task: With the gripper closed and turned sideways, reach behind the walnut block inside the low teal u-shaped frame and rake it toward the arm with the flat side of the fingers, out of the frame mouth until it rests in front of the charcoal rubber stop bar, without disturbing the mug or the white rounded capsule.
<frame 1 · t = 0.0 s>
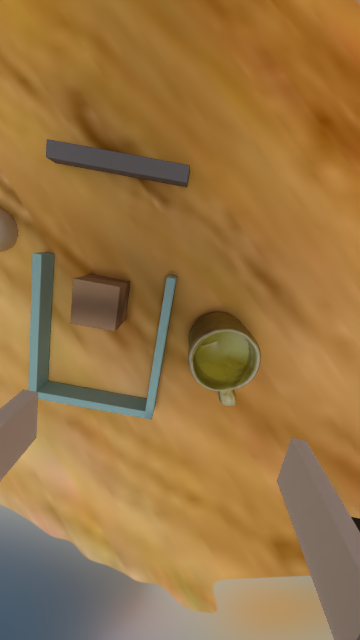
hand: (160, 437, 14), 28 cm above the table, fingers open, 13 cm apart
walnut block: (108, 297, 41), on the table
stop bar: (122, 166, 36), on the table
mug: (218, 348, 42), on the table
teal u-shaped frame: (104, 334, 42), on the table
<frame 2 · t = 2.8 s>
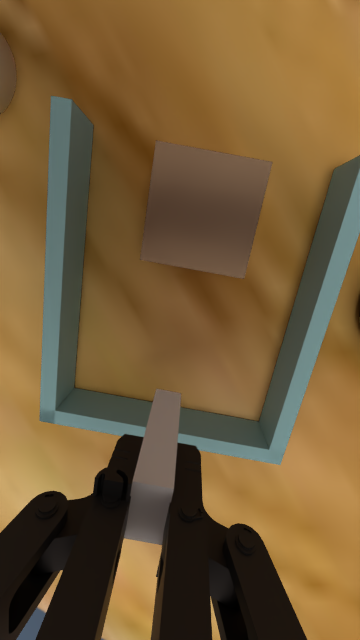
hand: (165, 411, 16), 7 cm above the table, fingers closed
walnut block: (200, 222, 20), on the table
teal u-shaped frame: (185, 300, 22), on the table
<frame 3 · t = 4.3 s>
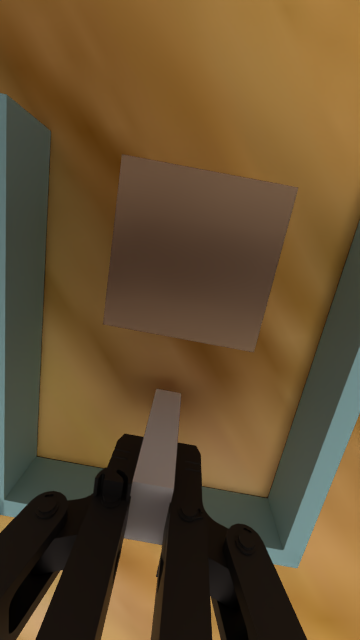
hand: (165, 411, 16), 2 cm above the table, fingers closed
walnut block: (192, 256, 16), on the table
teal u-shaped frame: (175, 353, 17), on the table
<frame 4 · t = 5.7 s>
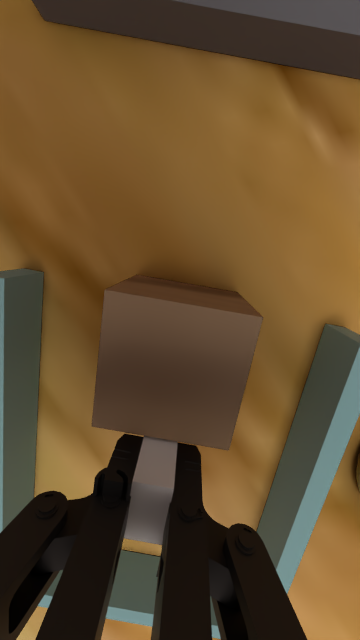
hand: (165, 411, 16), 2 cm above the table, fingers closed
walnut block: (178, 331, 17), on the table, touching gripper
stop bar: (234, 29, 13), on the table
teal u-shaped frame: (156, 450, 19), on the table
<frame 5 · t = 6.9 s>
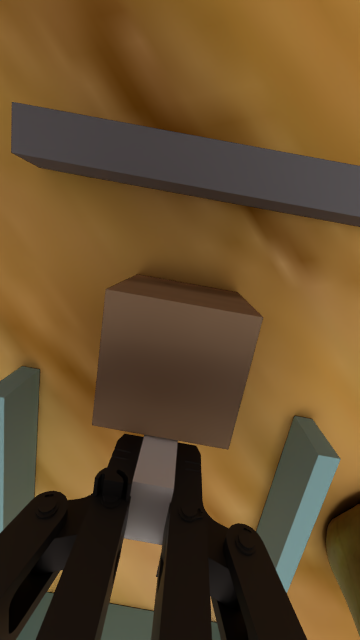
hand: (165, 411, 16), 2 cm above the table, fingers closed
walnut block: (178, 331, 17), on the table
stop bar: (207, 177, 14), on the table
teal u-shaped frame: (143, 519, 21), on the table
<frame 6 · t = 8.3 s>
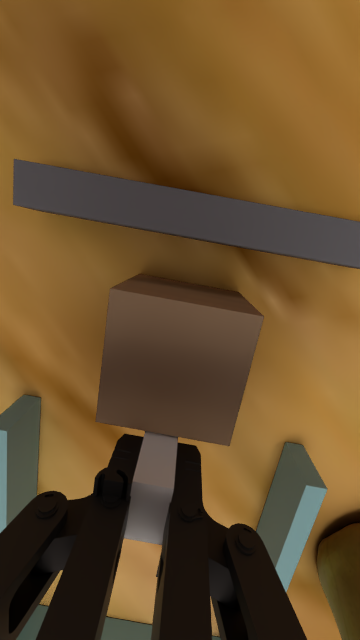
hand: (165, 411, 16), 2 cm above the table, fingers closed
walnut block: (180, 330, 17), on the table
stop bar: (199, 221, 15), on the table
teal u-shaped frame: (141, 538, 21), on the table
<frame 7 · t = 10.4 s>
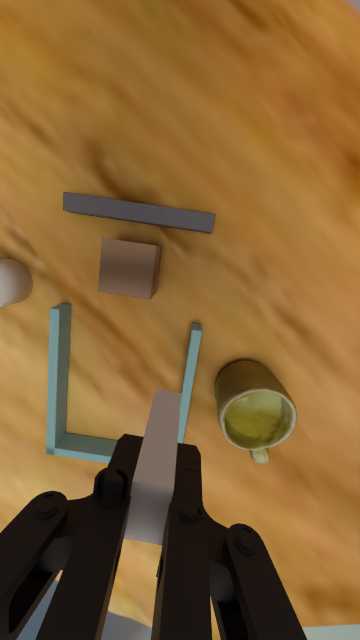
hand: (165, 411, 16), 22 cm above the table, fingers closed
walnut block: (137, 266, 36), on the table
stop bar: (141, 214, 34), on the table
mug: (245, 396, 40), on the table
teal u-shaped frame: (124, 384, 40), on the table
white rounded capsule: (11, 280, 37), on the table
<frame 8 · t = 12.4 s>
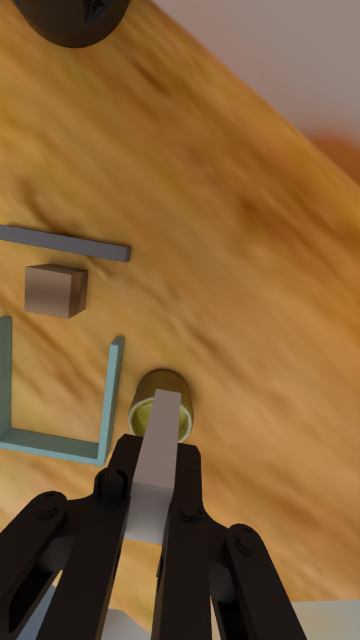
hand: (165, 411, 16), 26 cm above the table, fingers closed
walnut block: (67, 287, 42), on the table
stop bar: (69, 243, 40), on the table
mug: (165, 400, 46), on the table
teal u-shaped frame: (60, 388, 46), on the table
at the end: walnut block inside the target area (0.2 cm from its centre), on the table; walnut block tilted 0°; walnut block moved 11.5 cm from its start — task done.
